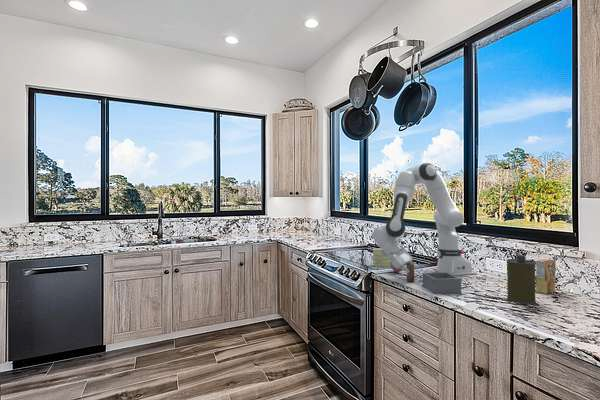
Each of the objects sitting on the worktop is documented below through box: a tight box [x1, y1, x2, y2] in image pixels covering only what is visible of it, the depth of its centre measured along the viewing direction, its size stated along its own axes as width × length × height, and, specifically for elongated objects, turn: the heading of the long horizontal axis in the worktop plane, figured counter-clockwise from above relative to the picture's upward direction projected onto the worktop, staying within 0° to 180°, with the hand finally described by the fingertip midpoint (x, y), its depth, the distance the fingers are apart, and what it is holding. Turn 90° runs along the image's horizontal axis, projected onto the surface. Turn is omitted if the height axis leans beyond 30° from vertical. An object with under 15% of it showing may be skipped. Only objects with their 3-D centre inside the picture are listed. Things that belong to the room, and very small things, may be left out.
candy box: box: [535, 258, 556, 295], centre depth 148 cm, size 9×4×15 cm, turn 116°
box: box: [372, 247, 391, 268], centre depth 208 cm, size 10×6×12 cm, turn 84°
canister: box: [506, 254, 537, 305], centre depth 136 cm, size 11×10×20 cm
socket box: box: [422, 271, 462, 295], centre depth 153 cm, size 13×13×7 cm
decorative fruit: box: [389, 261, 406, 273], centre depth 190 cm, size 9×8×10 cm
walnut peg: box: [406, 262, 415, 283], centre depth 169 cm, size 4×4×10 cm
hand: (411, 270), depth 168 cm, fingers open, 8 cm apart
